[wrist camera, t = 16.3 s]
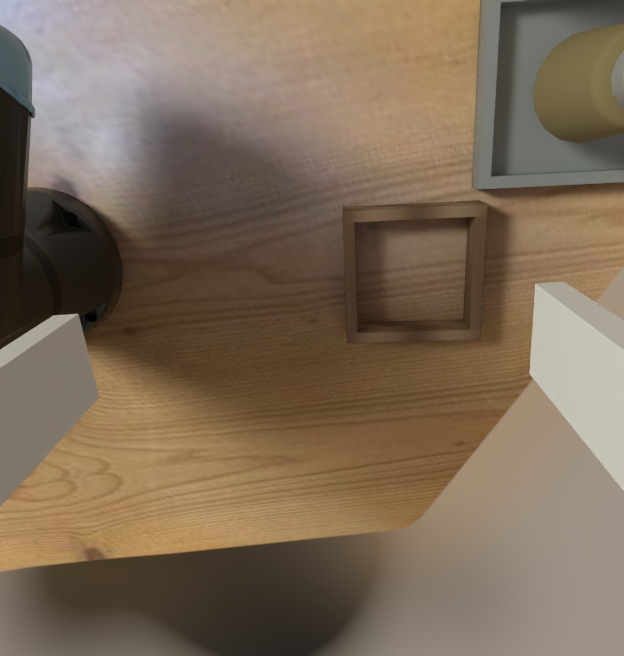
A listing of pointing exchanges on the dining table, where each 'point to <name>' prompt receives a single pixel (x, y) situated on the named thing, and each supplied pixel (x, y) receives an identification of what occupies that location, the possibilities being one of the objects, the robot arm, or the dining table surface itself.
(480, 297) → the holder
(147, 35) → the dining table surface
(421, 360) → the dining table surface
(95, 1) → the dining table surface
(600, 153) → the tray
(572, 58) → the squeeze bottle
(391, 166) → the dining table surface
